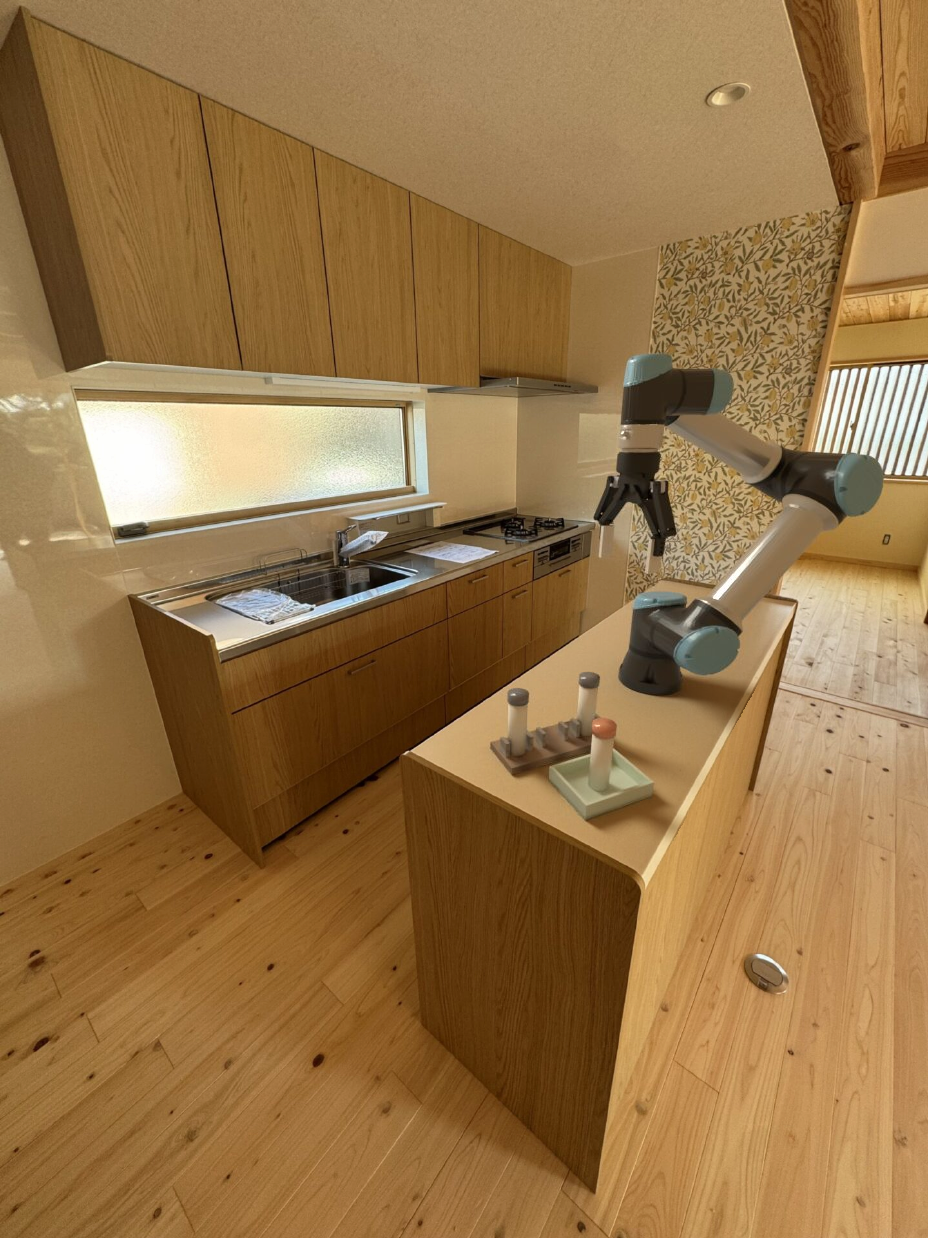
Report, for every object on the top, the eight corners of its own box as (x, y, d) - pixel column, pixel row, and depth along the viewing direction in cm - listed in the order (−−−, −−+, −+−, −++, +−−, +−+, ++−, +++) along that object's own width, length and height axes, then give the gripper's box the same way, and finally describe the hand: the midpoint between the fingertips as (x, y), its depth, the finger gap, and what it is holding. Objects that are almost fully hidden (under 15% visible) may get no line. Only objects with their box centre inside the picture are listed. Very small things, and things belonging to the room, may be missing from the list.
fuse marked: (600, 775, 91) (606, 715, 86) (614, 788, 87) (621, 727, 83) (582, 781, 89) (587, 721, 85) (596, 795, 86) (602, 733, 81)
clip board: (585, 722, 108) (586, 704, 107) (612, 744, 100) (614, 725, 99) (490, 748, 100) (490, 729, 98) (511, 775, 92) (512, 754, 90)
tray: (610, 760, 96) (612, 747, 95) (652, 796, 86) (654, 782, 85) (548, 780, 91) (549, 766, 90) (585, 820, 81) (586, 805, 80)
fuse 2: (587, 723, 105) (591, 670, 100) (598, 733, 102) (604, 678, 97) (571, 728, 104) (575, 674, 99) (582, 738, 100) (587, 682, 96)
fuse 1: (520, 742, 99) (522, 686, 95) (530, 753, 96) (533, 695, 91) (502, 747, 98) (503, 690, 93) (512, 758, 94) (513, 700, 90)
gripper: (581, 449, 100) (574, 553, 107) (675, 453, 78) (658, 583, 86) (611, 448, 102) (602, 549, 110) (711, 452, 81) (691, 577, 88)
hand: (627, 564), depth 98 cm, fingers open, 13 cm apart
